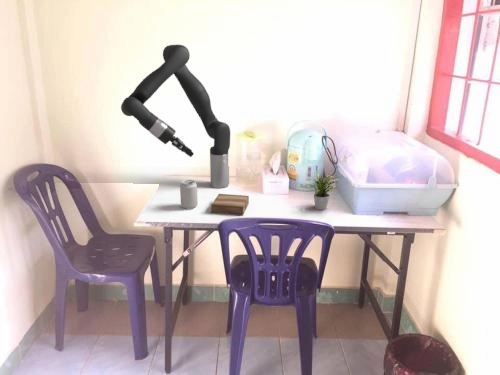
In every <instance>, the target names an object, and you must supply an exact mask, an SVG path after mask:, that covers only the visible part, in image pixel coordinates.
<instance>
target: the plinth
mask: <svg viewBox="0 0 500 375" xmlns="http://www.w3.org/2000/svg"><path fill="white" fill-rule="evenodd" d="M249 196H250V195H242V194H226V193H218V195H217V196H216V198H214V200H213V201H212V202H211V204H210V206H211V207H210V208H211V211H210V212H211V213H210V214H219V215H221V214H222V215H234V216H243V215H244V214H245V212H246V210H247V208H248V206H249V199H250V198H249Z"/></svg>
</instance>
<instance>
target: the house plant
mask: <svg viewBox="0 0 500 375" xmlns="http://www.w3.org/2000/svg"><path fill="white" fill-rule="evenodd" d="M332 177H333V175H330V174H327V176H326V177H325V179H324V178H323V174H322V173H317V180H316V178H314V177H313V176H311V179H313V180H312V182H314V184H315V185H316V186H315V185H313V184H309V185H308V187H311V188H313V189H314V190H315V191H314V193H313V200H314V208H315V209H316V210H322V211H323V210H327V207H328V204H329V200H330V194H329V193H328V192H331V193H332V194H333V193H334V191H333V190H335V189H336V188H335V187H338V185H336V186H335V185H334V186H333V185H332V184H335V183H336V184H337V183H339V182H338V180H340V178H337V179H333V180H331V178H332Z"/></svg>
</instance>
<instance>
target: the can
mask: <svg viewBox="0 0 500 375" xmlns="http://www.w3.org/2000/svg"><path fill="white" fill-rule="evenodd" d="M179 188H180V190H179V191H180V206H181V207H182V209H185V210H192V209H193V210H194V209H195V208H196V207H198V204H199V203H198V184H197V183H196V181H195V180H193V179H185V180H182V181H181V182H180V184H179Z"/></svg>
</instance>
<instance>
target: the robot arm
mask: <svg viewBox="0 0 500 375" xmlns="http://www.w3.org/2000/svg"><path fill="white" fill-rule="evenodd" d="M162 58H163V61H164V62H163V63H162V64H161V65H160V66H159V67H157V68H156V69H155V70H153V71H152V72H150V73H149V74H148V75H146V77H145V78H142V80H141V82H139V84H138V85H137V86H136V87H135V89H134V90H133V92H131V94H129V96H127V97H126V98H124V100H123V102H122V103H121V104H120V110H121V112H122V113H123V115H125V116H127V117H134V119H136V120H137V121H138V123H139V125H140V126H142V127H143V128H144V129H145V130H147V131H148V132H149V133H150V134H151V135H152V136H154V137H155V138H156V139H157V140H159V141H160V142H162V143H163V144H164V145H167V144H168V143H169V142H170V143H171V146H173V147H175V148H176V149H177V150H179V151H181V152H183V153H184V154H186V155H187V156H188V157H190V158H192V157H193V155H194V152H193V151H192V149H190V147H188V146H187V145H186V144H185V143H184V141H183V140H181V139H180V138H179V137H178V136H175V133H176V132H177V131H176V130H175V128H173V127H171V126H170V125H169V124H168V123H166V122H165V121H164V120H162V119H161V118H159V117H158V116H156V115H155V114H154V113H152V112H151V111H150V110H149V108H147V106H145V104H146V102H147V101H148V100H149V99H151V98H152V96H153V95H154V94H156V92H157V91H158V90H159V89H160V87H161V86H162V85H164V83H165V82H166V81H167V80H169V79H170V78H171V76H173V75H174V76H175V78H176V79H177V82H179V85H180V86H181V88H182V90H183V91H184V93H185V95H186V98H187V100H188V101H189V102H190V104H191V106H192V107H193V109H194V111H195V112H196V114H197V115H198V116H199V119H200V120H201V122H202V124H203V127H204V129H205V132H206V133H207V135H208V137H209V138H210V139H212V140H213V146H211V147H210V148H209V171H210V178H209V179H210V186H211V187H212V188H214V189H225V188H228V186H229V185H230V166H229V150H230V148H231V147H230V146H231V128H230V126H229V124H228V123H226V122H222V121H219V119H218V118H217V116H216V115H215V114H214V112H213V110H212V104H211V98H210V95H209V93H208V91H207V89H206V88H205V86H204V85H203V83H202V82H201V81H200V80H199V78H197V77H196V76H195V75H194V74H193V73H192V71H190V69H189V68H188V67H187V65H186V64H188V62H189V61H190V50H189V49H188V48H187V47H186V46H185V45H182V44H169V45H167V46H164V48H163V51H162Z"/></svg>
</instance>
